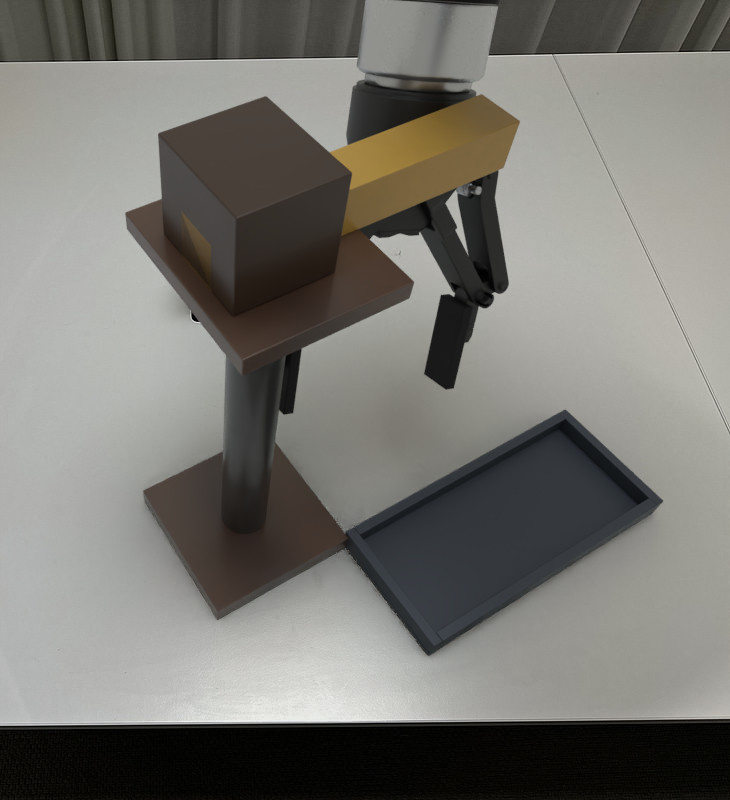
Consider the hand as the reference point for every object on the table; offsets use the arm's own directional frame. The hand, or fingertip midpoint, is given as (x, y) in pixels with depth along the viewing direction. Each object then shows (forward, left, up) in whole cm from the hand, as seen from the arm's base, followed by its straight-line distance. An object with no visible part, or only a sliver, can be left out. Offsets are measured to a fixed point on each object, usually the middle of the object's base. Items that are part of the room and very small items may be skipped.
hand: (362, 393), depth 58 cm
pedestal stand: (-7, +7, -12) cm, 15 cm away
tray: (-1, -13, -12) cm, 18 cm away
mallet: (-3, +3, +18) cm, 19 cm away
